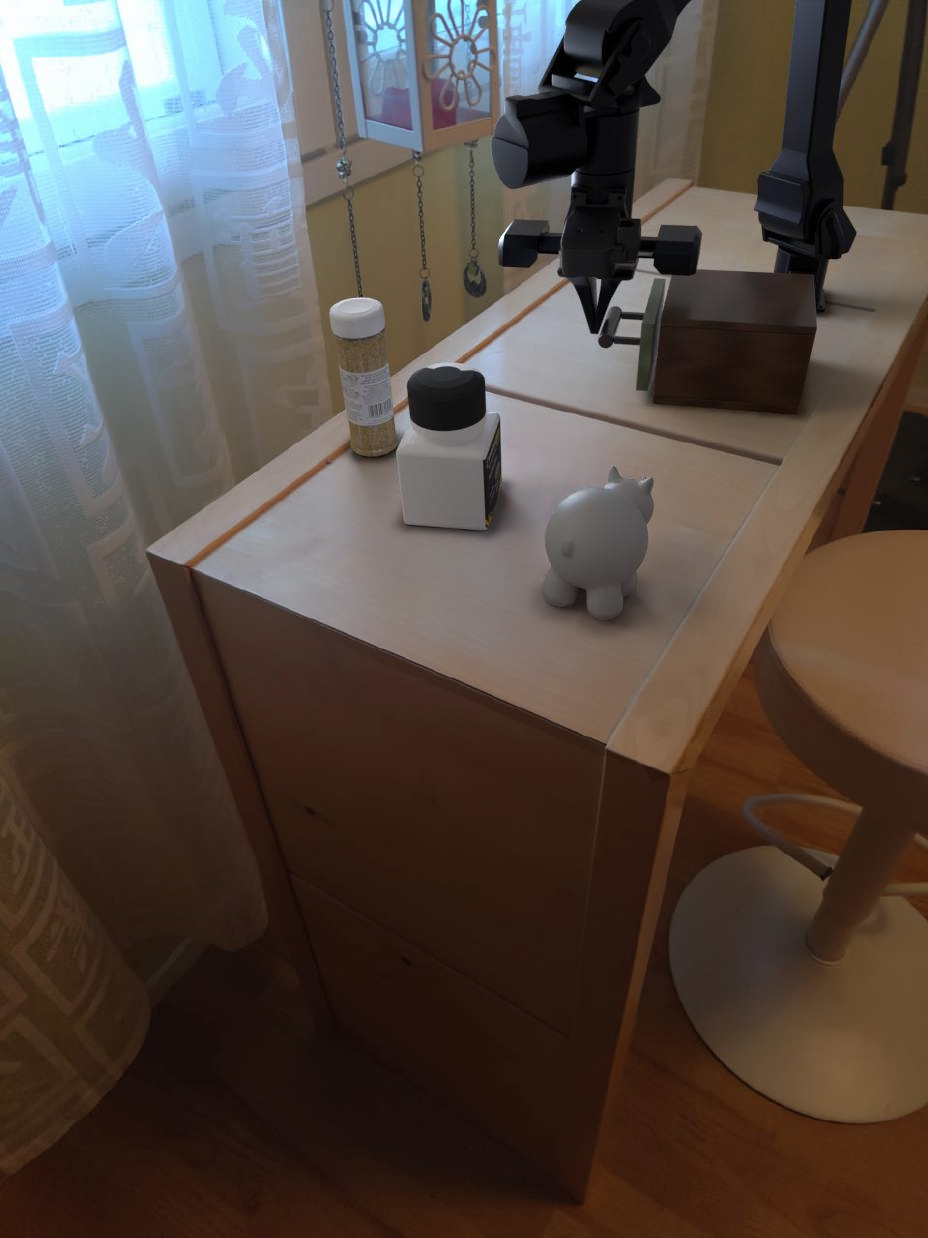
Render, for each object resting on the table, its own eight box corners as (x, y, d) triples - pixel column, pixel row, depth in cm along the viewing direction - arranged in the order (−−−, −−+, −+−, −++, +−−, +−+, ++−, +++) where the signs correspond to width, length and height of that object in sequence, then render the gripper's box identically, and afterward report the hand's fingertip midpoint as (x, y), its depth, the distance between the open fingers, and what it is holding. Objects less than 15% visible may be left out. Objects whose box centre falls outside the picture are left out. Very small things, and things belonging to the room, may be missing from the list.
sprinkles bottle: (390, 430, 85) (374, 291, 77) (404, 452, 82) (389, 310, 73) (344, 440, 84) (322, 301, 76) (357, 463, 81) (335, 320, 72)
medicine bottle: (487, 532, 72) (482, 397, 64) (403, 526, 73) (387, 393, 65) (502, 484, 77) (499, 354, 69) (423, 479, 79) (411, 351, 71)
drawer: (592, 387, 88) (596, 320, 84) (608, 338, 96) (612, 275, 92) (768, 400, 84) (781, 331, 80) (769, 348, 93) (781, 283, 88)
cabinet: (652, 403, 87) (661, 317, 81) (664, 347, 96) (672, 267, 90) (797, 414, 84) (817, 326, 78) (796, 356, 93) (813, 273, 87)
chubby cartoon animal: (684, 549, 69) (698, 454, 64) (613, 638, 62) (622, 539, 56) (602, 522, 72) (608, 429, 67) (525, 603, 65) (525, 507, 60)
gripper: (481, 190, 76) (487, 360, 87) (703, 197, 72) (681, 375, 83) (510, 154, 84) (512, 314, 95) (711, 158, 80) (690, 325, 90)
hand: (595, 332), depth 90 cm, fingers closed
